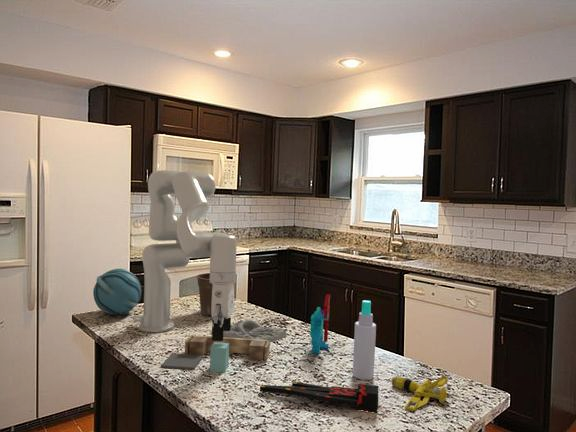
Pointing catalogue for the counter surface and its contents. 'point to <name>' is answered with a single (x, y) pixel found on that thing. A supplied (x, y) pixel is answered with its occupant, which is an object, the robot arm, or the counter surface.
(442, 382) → the sprinkler
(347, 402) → the toy
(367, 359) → the spray bottle
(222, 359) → the block
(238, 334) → the wall plaque
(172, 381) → the counter surface
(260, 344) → the rack
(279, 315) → the counter surface
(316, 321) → the toy
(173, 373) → the counter surface
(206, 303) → the object
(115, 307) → the toy
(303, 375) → the counter surface
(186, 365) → the pad
